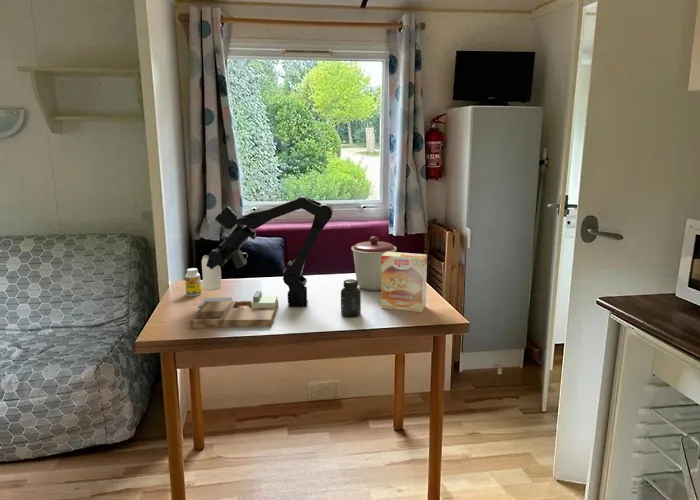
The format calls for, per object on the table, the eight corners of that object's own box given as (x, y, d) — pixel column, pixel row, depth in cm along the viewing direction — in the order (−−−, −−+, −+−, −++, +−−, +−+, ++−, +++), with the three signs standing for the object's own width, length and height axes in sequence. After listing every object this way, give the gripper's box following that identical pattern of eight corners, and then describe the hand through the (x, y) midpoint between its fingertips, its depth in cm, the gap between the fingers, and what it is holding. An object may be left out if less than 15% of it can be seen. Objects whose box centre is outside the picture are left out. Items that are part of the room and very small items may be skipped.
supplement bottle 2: (337, 313, 183) (337, 279, 180) (355, 310, 185) (355, 277, 183) (345, 319, 176) (345, 284, 174) (364, 316, 179) (364, 282, 177)
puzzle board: (278, 307, 189) (278, 300, 189) (271, 326, 170) (270, 319, 169) (206, 308, 189) (205, 301, 188) (190, 327, 169) (190, 320, 169)
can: (209, 291, 186) (206, 258, 185) (200, 288, 191) (197, 256, 189) (225, 288, 191) (223, 255, 189) (216, 285, 195) (214, 253, 194)
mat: (231, 298, 200) (231, 297, 200) (226, 306, 190) (226, 305, 190) (205, 298, 200) (205, 297, 200) (198, 307, 190) (198, 306, 190)
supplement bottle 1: (183, 295, 204) (181, 270, 201) (191, 291, 209) (190, 267, 207) (196, 297, 202) (194, 271, 200) (204, 293, 207) (202, 267, 205)
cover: (277, 300, 188) (277, 290, 187) (274, 307, 180) (274, 297, 180) (255, 300, 188) (254, 290, 187) (251, 308, 180) (251, 297, 180)
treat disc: (250, 310, 187) (250, 305, 186) (249, 313, 183) (248, 308, 182) (239, 310, 187) (239, 305, 186) (237, 314, 183) (237, 309, 182)
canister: (354, 280, 223) (354, 231, 219) (397, 282, 221) (397, 232, 216) (348, 293, 206) (348, 240, 201) (394, 294, 203) (395, 241, 199)
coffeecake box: (380, 308, 187) (380, 255, 183) (386, 302, 194) (386, 250, 190) (421, 312, 182) (423, 258, 178) (426, 306, 189) (427, 253, 185)
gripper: (247, 260, 180) (217, 291, 182) (258, 248, 198) (231, 277, 201) (222, 238, 178) (193, 270, 181) (236, 228, 196) (209, 257, 199)
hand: (208, 269), depth 190 cm, fingers closed on can, 5 cm apart
